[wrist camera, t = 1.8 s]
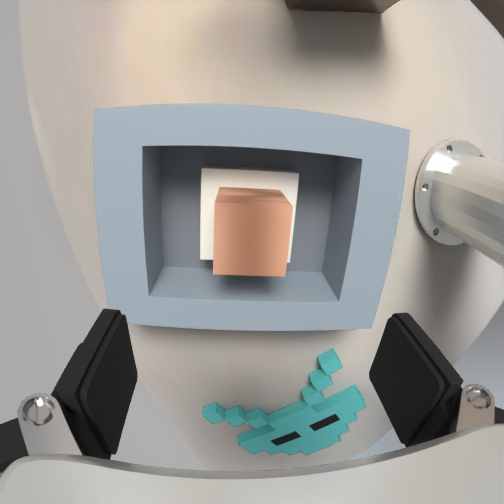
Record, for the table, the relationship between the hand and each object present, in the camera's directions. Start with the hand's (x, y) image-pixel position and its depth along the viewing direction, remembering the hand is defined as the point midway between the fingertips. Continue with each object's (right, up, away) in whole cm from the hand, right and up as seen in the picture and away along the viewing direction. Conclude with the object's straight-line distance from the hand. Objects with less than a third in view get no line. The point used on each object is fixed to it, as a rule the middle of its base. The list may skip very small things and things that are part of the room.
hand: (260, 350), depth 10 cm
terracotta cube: (-1, +6, +16) cm, 17 cm away
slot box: (-1, +8, +19) cm, 20 cm away
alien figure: (+7, -21, +32) cm, 39 cm away
